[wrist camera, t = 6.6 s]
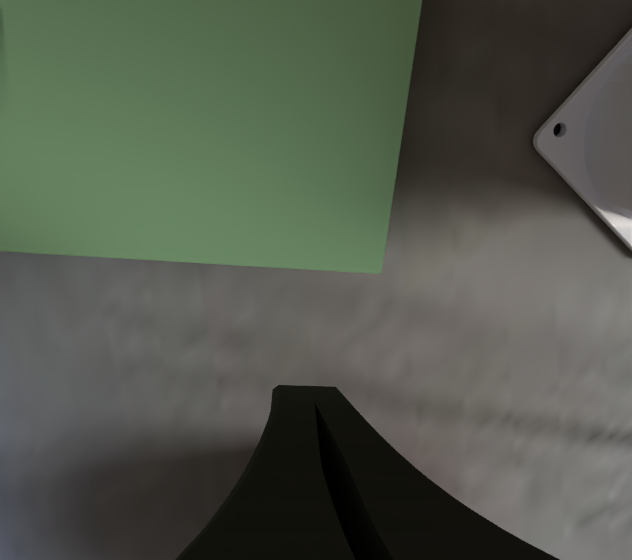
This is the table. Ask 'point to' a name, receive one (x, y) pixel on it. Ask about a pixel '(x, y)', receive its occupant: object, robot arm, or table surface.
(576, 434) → the table surface
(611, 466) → the table surface
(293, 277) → the table surface
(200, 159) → the green
